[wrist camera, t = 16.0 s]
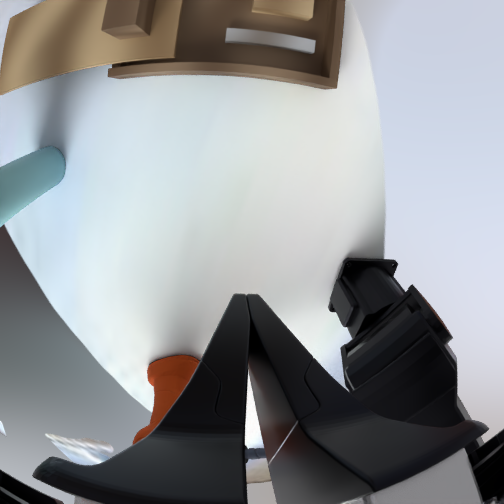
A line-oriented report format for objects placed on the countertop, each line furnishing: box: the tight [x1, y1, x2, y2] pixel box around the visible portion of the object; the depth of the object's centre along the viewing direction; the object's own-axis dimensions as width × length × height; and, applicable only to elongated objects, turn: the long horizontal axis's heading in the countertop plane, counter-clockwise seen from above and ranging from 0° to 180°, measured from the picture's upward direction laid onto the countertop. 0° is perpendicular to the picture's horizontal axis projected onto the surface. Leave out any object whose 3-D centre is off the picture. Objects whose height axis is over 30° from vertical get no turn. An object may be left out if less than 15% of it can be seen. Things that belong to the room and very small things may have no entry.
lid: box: [0, 0, 184, 95], centre depth 9 cm, size 15×7×4 cm, turn 84°
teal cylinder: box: [0, 146, 65, 227], centre depth 12 cm, size 4×4×13 cm
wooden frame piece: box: [108, 0, 345, 89], centre depth 13 cm, size 15×9×2 cm, turn 84°
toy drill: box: [133, 355, 266, 463], centre depth 24 cm, size 5×19×15 cm, turn 112°
